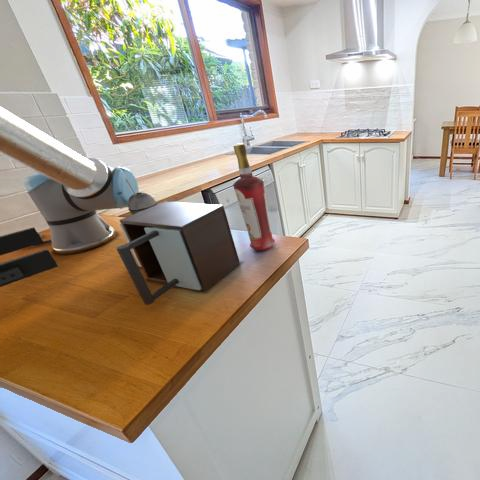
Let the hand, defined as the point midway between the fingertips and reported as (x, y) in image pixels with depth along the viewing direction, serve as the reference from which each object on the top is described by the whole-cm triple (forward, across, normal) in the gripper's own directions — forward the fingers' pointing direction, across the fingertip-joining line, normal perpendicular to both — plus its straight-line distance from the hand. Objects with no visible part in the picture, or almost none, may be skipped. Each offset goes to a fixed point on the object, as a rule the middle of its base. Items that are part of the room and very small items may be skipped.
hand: (45, 245), depth 45 cm
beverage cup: (+22, -35, -20) cm, 46 cm away
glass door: (+12, 0, -19) cm, 22 cm away
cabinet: (+21, -7, -20) cm, 29 cm away
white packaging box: (+18, -21, -20) cm, 34 cm away
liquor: (+38, -3, -20) cm, 43 cm away
